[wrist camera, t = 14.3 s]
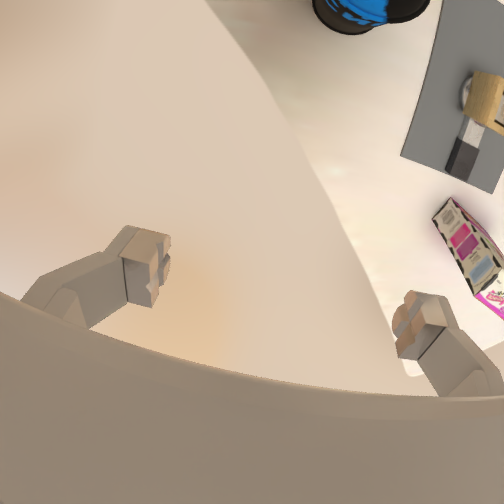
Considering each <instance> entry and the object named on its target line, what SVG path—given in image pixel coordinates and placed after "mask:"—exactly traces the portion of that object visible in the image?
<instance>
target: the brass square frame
mask: <svg viewBox="0 0 504 504" xmlns="http://www.w3.org/2000/svg"><path fill="white" fill-rule="evenodd" d="M502 95H504V79H503V78H502V77H500V76H497V75H493V74H488V73H484V72H480V71H474V75H473V79H472V82H471V86H470V90H469V93H468V96H467V100H466V103H465V106H464V109H463V112H462V113H463V114H464V115H466V116H468V117H470V118H472V119H474V120H476V121H477V122H479V123H481V124H483V125H485V126H486V127H488V128H490V129H491V130H493V131H495V132H497V133H498V134H500V135H502V136H503V137H504V125H503V124H501V123H499V122H497V121H494V120H495V117H496V114H497V111H498V108H499V104H500V101H501V98H502Z"/></svg>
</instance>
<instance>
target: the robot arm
mask: <svg viewBox="0 0 504 504" xmlns="http://www.w3.org/2000/svg"><path fill="white" fill-rule="evenodd" d="M170 246H171V245H170V236H169V235H167V234H162V233H159V232H155V231H150V230H146V229H141V228H138V227H134V226H129V225H127V226H125V227H124V228H123V229H122V230H121V231H120V232H119V234H118V235H117V236H116V237H115V238H114V240H113V241H112V242H111V243H110V245H109V246H108V247H107V248H106V249H105V251H104V252H97V253H94V254H92V255H90V256H87V257H85V258H82V259H80V260H78V261H75V262H73V263H70V264H68V265H66V266H63V267H61V268H59V269H56V270H54V271H52V272H49V273H47V274H45V275H43V276H40V277H39V278H38V279H37V281H36V282H35V283H34V284H33V285H32V287H31V288H30V289H29V290H28V292H27V293H26V294H25V295H24V297H23V298H22V299H21V300H20V301H19V300H16V299H14V298H12V297H10V296H8V295H6V294H4V293H2V292H0V504H504V382H503V379H502V376H501V373H500V371H499V369H498V368H497V367H496V366H495V365H494V364H493V362H492V361H491V360H490V359H489V358H488V357H487V356H486V355H485V354H484V352H483V351H482V350H481V349H480V348H479V347H478V346H477V345H476V344H475V343H474V341H473V340H472V339H471V338H470V337H469V336H468V335H467V334H466V333H465V332H464V331H463V330H460V329H459V326H458V324H457V321H456V319H455V316H454V314H453V311H452V309H451V306H450V304H449V302H448V299H447V298H446V297H445V296H439V295H432V294H427V293H422V292H418V291H413V290H410V291H409V292H408V293H407V294H406V296H405V297H404V302H405V303H404V304H403V305H401V306H399V307H398V308H397V310H396V312H395V313H394V316H393V320H392V330H393V333H394V335H395V336H396V337H397V338H398V339H397V341H396V342H395V345H396V349H397V354H398V358H402V359H409V360H416V361H417V362H418V364H419V365H420V367H421V368H422V370H423V372H424V373H425V375H426V376H427V378H428V379H429V381H430V383H431V384H432V386H433V387H434V389H435V390H436V392H437V394H438V395H439V397H433V396H407V395H391V394H378V393H366V392H356V391H347V390H338V389H330V388H323V387H316V386H309V385H302V384H296V383H290V382H284V381H278V380H272V379H267V378H262V377H257V376H252V375H247V374H242V373H238V372H232V371H228V370H224V369H220V368H216V367H211V366H207V365H203V364H199V363H195V362H191V361H187V360H184V359H180V358H176V357H173V356H169V355H166V354H162V353H159V352H155V351H152V350H149V349H145V348H142V347H139V346H136V345H133V344H130V343H126V342H123V341H120V340H117V339H114V338H112V337H108V336H106V335H103V334H100V333H97V332H94V331H92V330H89V329H90V328H91V327H93V326H94V325H96V324H97V323H99V322H100V321H102V320H103V319H105V318H106V317H108V316H109V315H111V314H112V313H114V312H115V311H116V310H118V309H120V308H121V307H122V306H124V305H126V304H127V302H130V303H134V304H137V305H141V306H145V307H150V308H152V307H153V305H154V302H155V301H156V299H157V297H158V295H159V287H160V286H162V285H164V282H165V281H166V279H167V275H168V272H169V267H170V256H169V255H168V253H167V252H168V250H169V248H170Z"/></svg>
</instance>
